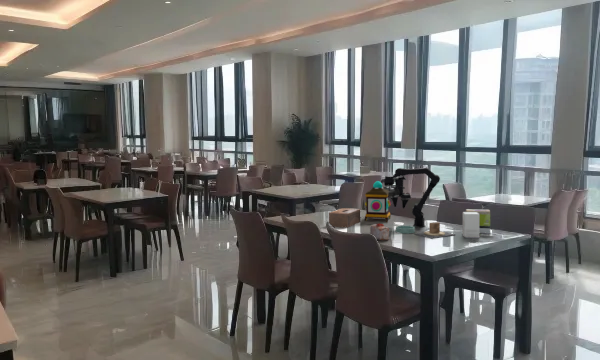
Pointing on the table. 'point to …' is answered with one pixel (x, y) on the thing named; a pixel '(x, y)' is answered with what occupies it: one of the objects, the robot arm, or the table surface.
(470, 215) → the supplement box
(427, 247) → the table surface
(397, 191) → the robot arm
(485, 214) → the tea box
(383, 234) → the food item
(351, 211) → the tissue box cover
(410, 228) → the bowl
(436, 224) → the lid
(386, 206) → the decorative lantern
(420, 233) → the mat
